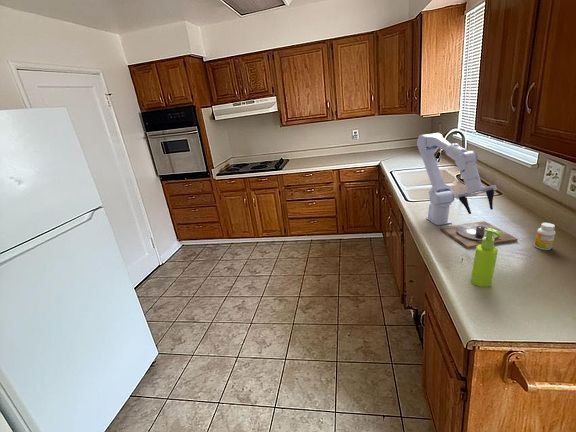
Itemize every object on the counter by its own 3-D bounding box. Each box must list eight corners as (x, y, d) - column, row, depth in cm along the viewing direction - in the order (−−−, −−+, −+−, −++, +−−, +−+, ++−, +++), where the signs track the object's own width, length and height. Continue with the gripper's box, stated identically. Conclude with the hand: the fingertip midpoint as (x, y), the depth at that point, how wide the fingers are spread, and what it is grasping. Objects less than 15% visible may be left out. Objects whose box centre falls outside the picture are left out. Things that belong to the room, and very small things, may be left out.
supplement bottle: (534, 242, 123) (539, 220, 119) (551, 245, 119) (557, 223, 116) (533, 248, 119) (538, 225, 115) (551, 251, 116) (557, 228, 112)
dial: (454, 223, 142) (456, 213, 140) (494, 226, 136) (496, 215, 134) (457, 238, 128) (459, 227, 126) (502, 242, 122) (504, 230, 120)
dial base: (440, 229, 140) (440, 226, 140) (484, 223, 142) (484, 220, 142) (467, 248, 123) (467, 245, 122) (517, 241, 125) (517, 238, 124)
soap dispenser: (486, 290, 98) (496, 236, 91) (467, 280, 104) (475, 228, 97) (498, 285, 100) (509, 231, 93) (478, 275, 106) (487, 224, 99)
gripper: (450, 184, 125) (459, 215, 123) (491, 173, 116) (501, 207, 115) (453, 185, 131) (462, 215, 129) (493, 175, 122) (502, 207, 120)
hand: (480, 211), depth 122 cm, fingers open, 7 cm apart
